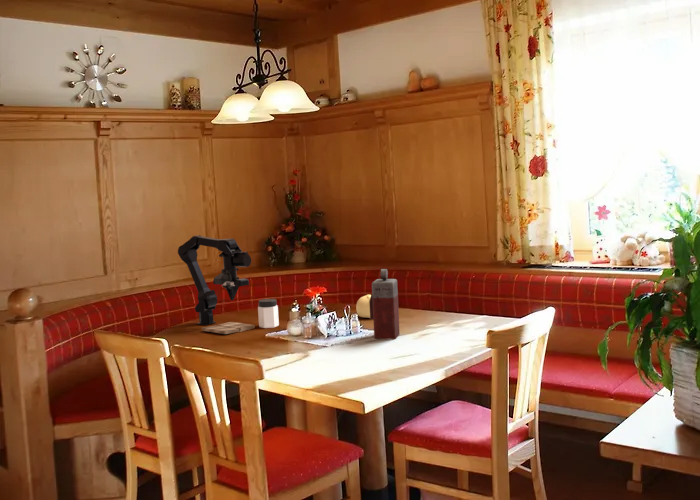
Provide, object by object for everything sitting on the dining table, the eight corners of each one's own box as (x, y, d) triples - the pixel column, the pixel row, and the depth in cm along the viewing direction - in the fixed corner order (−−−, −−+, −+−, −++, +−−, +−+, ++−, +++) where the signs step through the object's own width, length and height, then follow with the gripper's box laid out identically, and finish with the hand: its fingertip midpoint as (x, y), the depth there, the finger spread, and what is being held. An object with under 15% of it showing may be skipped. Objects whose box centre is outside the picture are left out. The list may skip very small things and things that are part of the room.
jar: (282, 325, 349) (280, 299, 348) (267, 329, 344) (265, 302, 343) (271, 323, 356) (269, 297, 355) (256, 326, 351) (254, 300, 349)
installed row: (216, 328, 351) (216, 325, 351) (231, 324, 358) (231, 321, 357) (240, 331, 341) (239, 328, 340) (254, 328, 347) (254, 324, 347)
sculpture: (382, 319, 353) (381, 295, 352) (356, 320, 354) (355, 297, 352) (382, 314, 365) (381, 291, 364) (356, 315, 365) (355, 293, 364)
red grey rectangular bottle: (373, 333, 323) (370, 267, 320) (399, 334, 320) (396, 267, 317) (368, 338, 314) (365, 270, 311) (395, 339, 311) (392, 270, 308)
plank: (201, 330, 344) (201, 327, 344) (215, 328, 351) (215, 325, 350) (225, 334, 334) (225, 331, 334) (239, 331, 340) (239, 328, 340)
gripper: (202, 267, 352) (205, 301, 353) (230, 269, 340) (232, 304, 341) (221, 264, 360) (224, 297, 362) (248, 266, 348) (251, 300, 350)
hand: (232, 300), depth 354 cm, fingers closed
